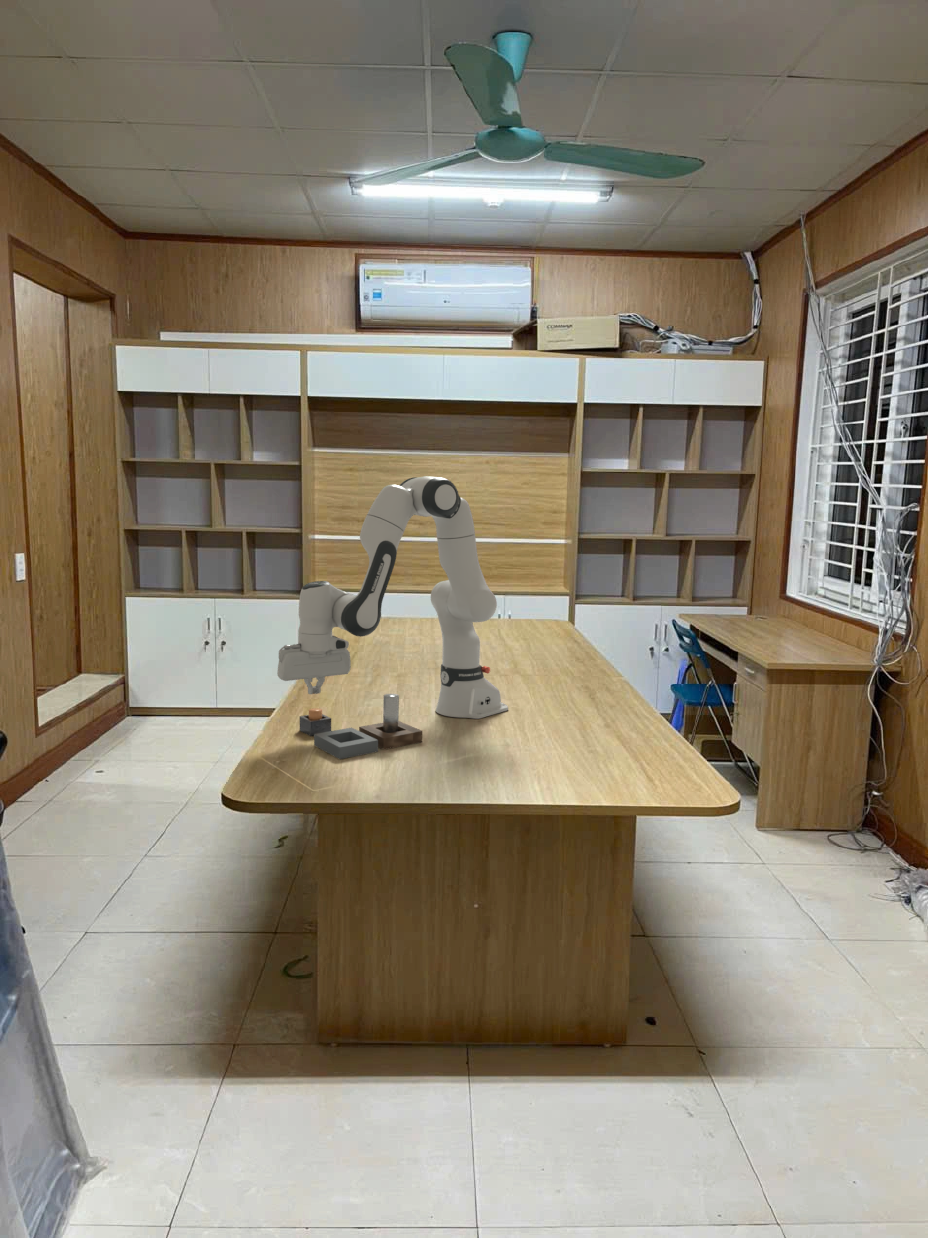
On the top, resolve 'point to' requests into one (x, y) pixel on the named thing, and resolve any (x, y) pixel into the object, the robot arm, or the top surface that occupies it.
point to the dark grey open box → (315, 725)
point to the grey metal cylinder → (390, 713)
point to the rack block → (345, 743)
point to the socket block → (393, 735)
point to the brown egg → (315, 714)
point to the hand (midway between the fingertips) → (314, 693)
